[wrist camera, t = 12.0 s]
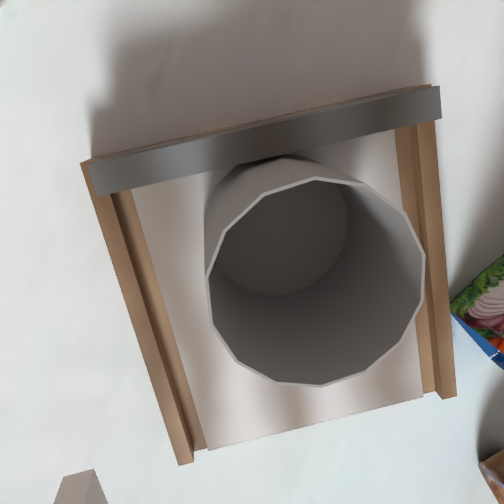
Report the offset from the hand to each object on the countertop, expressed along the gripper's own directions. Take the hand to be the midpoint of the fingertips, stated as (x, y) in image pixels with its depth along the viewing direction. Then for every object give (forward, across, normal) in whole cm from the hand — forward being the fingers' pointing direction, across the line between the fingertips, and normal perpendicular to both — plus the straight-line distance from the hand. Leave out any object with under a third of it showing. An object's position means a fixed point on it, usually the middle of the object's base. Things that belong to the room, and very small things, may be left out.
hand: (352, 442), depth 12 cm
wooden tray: (+18, +1, -2) cm, 18 cm away
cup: (+16, +1, +2) cm, 16 cm away
